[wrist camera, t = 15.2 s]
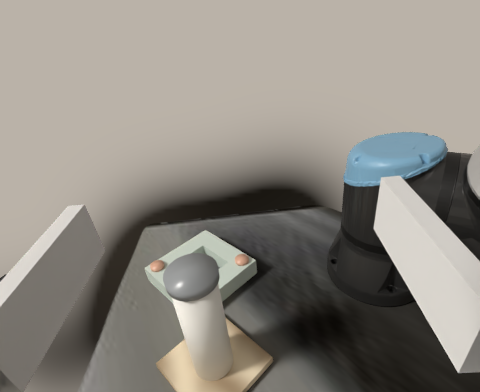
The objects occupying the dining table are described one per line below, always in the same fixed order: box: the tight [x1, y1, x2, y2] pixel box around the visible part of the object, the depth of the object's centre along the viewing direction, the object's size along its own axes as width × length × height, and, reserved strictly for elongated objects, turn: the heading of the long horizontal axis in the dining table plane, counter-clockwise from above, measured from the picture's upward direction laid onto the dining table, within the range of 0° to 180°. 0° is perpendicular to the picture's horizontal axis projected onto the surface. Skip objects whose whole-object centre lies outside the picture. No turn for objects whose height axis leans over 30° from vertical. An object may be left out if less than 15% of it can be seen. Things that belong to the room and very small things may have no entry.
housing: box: [145, 230, 257, 304], centre depth 54 cm, size 14×14×4 cm
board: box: [156, 318, 273, 392], centre depth 40 cm, size 11×11×1 cm
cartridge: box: [163, 253, 233, 381], centre depth 36 cm, size 6×6×16 cm
